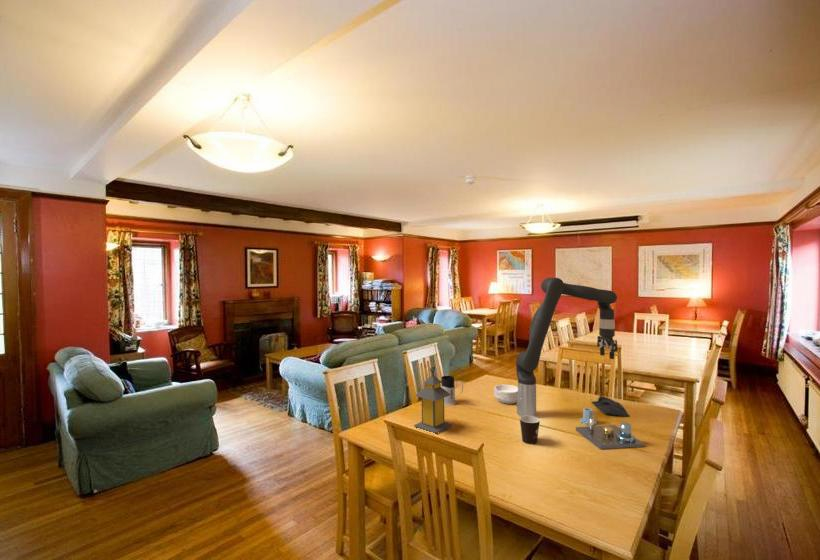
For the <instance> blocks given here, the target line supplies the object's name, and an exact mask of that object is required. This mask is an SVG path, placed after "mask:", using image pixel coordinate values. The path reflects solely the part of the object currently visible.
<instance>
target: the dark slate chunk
mask: <svg viewBox="0 0 820 560" xmlns="http://www.w3.org/2000/svg"><path fill="white" fill-rule="evenodd" d="M591 404H592V405H594V406H595V407H596V408H597V409H599V410H600V412H602V413H603V414H605V415H609V416H616V417H622V416H623V418H630V417H631V415H630V414H628V412H627V410H626V409H625V408H624V406H623V405H622V404H621V403H620V402H619V401H615V400H613V399H611V398H609V397H606V396H604V395H599V397H598V399H597V400H596V401H591Z"/></svg>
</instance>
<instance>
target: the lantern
mask: <svg viewBox="0 0 820 560" xmlns="http://www.w3.org/2000/svg"><path fill="white" fill-rule="evenodd" d="M435 370H436V367H435V366H430V367H429V372H430V374H431V375H430V376H429V377H428V378H427V379H425V381H423V383H424V387H423V388H422V389H421V390H419V391H418V392H417V393H416V394H415V395H414V396H415V397H419V398H421V421H420V422H418V423H416V424H414V428H415V427H416V428H415V429H417V428H420V429H423V430H426V431H429V432H433V433H435V434H436V435H438V434H437V433H438V432H441V431H443V432H445V431H446V430H449V429H450V428H452V426H453V424H452V423H451V422H447V421H446V420H445V405H444V398H445V397H447V396H450V395H451V394H450V393H448V392H447V391H446V390H444V389H443V388H442V387H441V379H439V378H438V377H436V376H435ZM420 429H419V430H420ZM444 430H445V431H444ZM441 433H442V432H441Z"/></svg>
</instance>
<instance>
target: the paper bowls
mask: <svg viewBox="0 0 820 560" xmlns="http://www.w3.org/2000/svg"><path fill="white" fill-rule="evenodd" d="M493 395H494V397H495V398H497V400H498V402H500V403H502V404H505V403H506V404H505V405H510V404H511V405H513V404H515V403H517V395H518V385H512V384H504V383H503V384H496V385H495V386H494V388H493Z"/></svg>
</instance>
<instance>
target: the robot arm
mask: <svg viewBox="0 0 820 560" xmlns="http://www.w3.org/2000/svg"><path fill="white" fill-rule="evenodd" d="M540 286H541V287H540V288H541V290H542V292H543V293H545V295H544V298H543V302H541V305H540V306H538V308H537V309H536V311H535V313H534V315H533V317H532V319H531V322H530V326H529V339H528V340H529V341H528V345H527V349H526V351H524V350H523V351H521V352H519V353H518V354H517V356H516V359H515V360H516V362H515V364H516V365H515V367H516V368H515V370H516V378H517V387H518V395H517V401H516V413H517V414H518V416H519V417H521V416H534V417H537V377H536V376H535V373H534V371H535V370H536V369H537V368H538V366H539V364H540V358H541V354H542V349H543V345H544V343H545V341H546V337H547V334H548V331H549V329H550V326H551V322H552V319H553V317H554V315H555V311H556V308H557V305H558V303H559V301H560V299H561V297H562V295H563V296H564V295H565V296H568V297H569V296H570V297H573V298H577V299H582V300H587V301H594V302H597V306H598V310H599V320H598V321H599V322H598V323H599V324H598V326H599V327H598V328H599V329H598V333H599V334H598V335H597V342H596V346H597V347H598V348H599V355H600V356H605V355H606V354H605V348H607V349H608V350H609V357H608V358H609V359H610V360H614V359H615V352H618V340H617V339H614V337H616V336H615V335H616V327H615V326H616V323H615V310H614V309H613V308H612V307H611V305H612V304H615V303H616V302H617V300H618V296H617V294H616V293H615V291H612V290H610V289H609V290H608V289H601V288H596V287H591V286H587V285H582V284H581V285H578V284H573V283H566V282H564V281H563V280H562V279H561V278H559V277H546V278H545V279H543V280H542V282H541V283H540Z"/></svg>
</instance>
